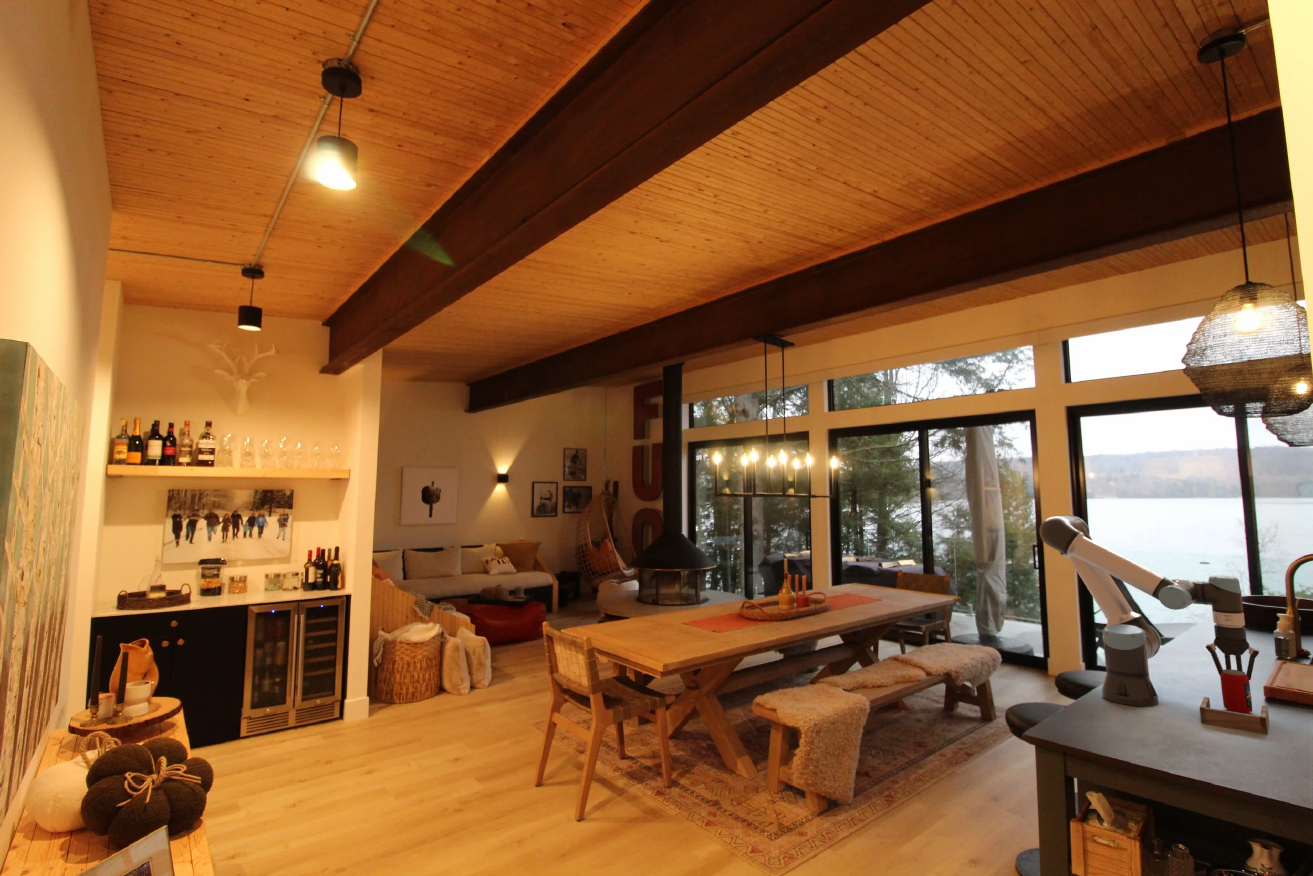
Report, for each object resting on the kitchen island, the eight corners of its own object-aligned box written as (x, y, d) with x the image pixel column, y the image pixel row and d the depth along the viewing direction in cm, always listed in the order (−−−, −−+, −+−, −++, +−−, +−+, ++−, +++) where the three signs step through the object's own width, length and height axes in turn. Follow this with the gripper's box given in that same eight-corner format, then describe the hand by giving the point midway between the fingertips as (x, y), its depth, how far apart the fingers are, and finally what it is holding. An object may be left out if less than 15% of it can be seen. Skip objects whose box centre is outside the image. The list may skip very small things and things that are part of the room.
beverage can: (1258, 715, 195) (1253, 675, 196) (1232, 714, 197) (1227, 674, 198) (1244, 708, 202) (1239, 669, 203) (1219, 707, 203) (1214, 668, 205)
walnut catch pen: (1267, 734, 181) (1265, 718, 181) (1201, 723, 191) (1199, 707, 191) (1269, 722, 190) (1267, 706, 190) (1205, 711, 200) (1204, 696, 200)
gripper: (1201, 624, 207) (1209, 700, 205) (1256, 629, 198) (1266, 708, 196) (1203, 621, 212) (1211, 694, 210) (1257, 625, 203) (1266, 702, 201)
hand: (1237, 701), depth 203 cm, fingers closed
